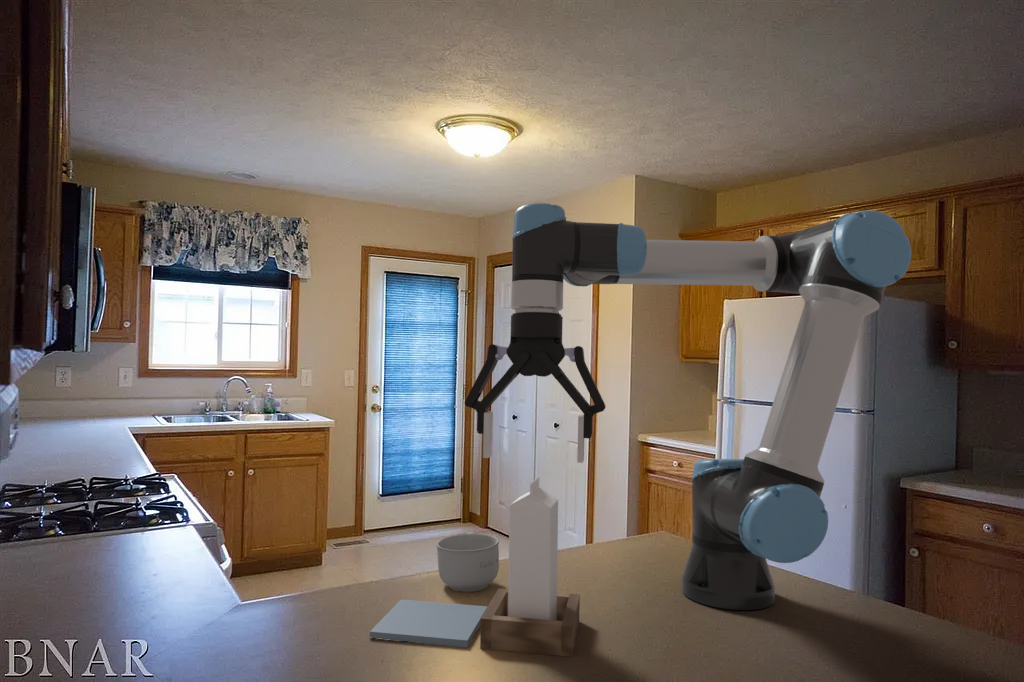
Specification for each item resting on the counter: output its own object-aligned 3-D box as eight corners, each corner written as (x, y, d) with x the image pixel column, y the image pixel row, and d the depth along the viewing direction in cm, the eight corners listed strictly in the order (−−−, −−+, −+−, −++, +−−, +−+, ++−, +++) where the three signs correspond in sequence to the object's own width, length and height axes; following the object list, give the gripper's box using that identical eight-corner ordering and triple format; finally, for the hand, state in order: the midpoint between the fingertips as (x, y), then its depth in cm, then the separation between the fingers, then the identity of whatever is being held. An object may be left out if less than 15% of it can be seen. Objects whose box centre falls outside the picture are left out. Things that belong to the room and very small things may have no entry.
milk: (507, 640, 95) (508, 482, 95) (517, 624, 101) (518, 475, 101) (549, 645, 93) (550, 484, 94) (557, 628, 99) (558, 477, 100)
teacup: (490, 599, 111) (491, 550, 111) (427, 594, 113) (428, 545, 113) (507, 573, 124) (508, 530, 125) (451, 569, 127) (451, 526, 127)
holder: (579, 621, 102) (579, 594, 102) (572, 656, 90) (572, 626, 90) (498, 614, 104) (498, 588, 104) (480, 648, 92) (480, 618, 92)
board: (487, 613, 105) (487, 606, 105) (467, 647, 92) (467, 640, 92) (400, 605, 107) (401, 599, 107) (369, 638, 94) (369, 631, 94)
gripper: (624, 315, 100) (621, 459, 99) (460, 313, 104) (456, 451, 104) (623, 311, 92) (620, 467, 92) (446, 309, 97) (442, 458, 96)
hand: (533, 459), depth 98 cm, fingers open, 13 cm apart
